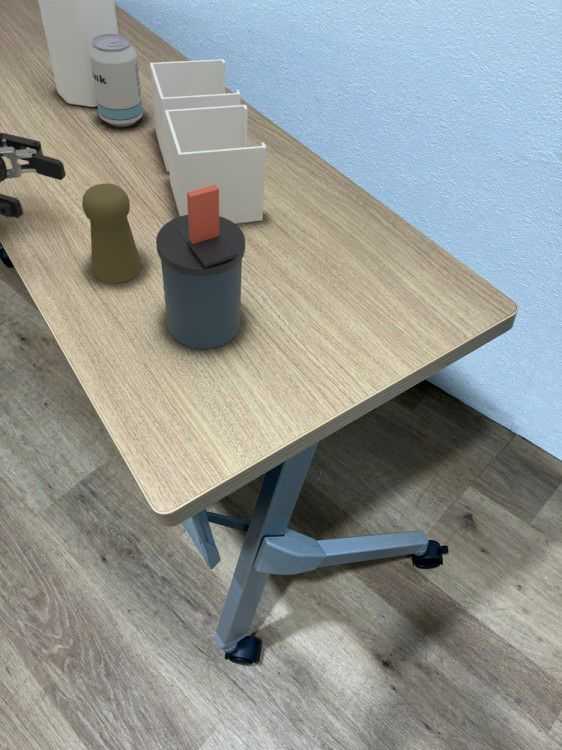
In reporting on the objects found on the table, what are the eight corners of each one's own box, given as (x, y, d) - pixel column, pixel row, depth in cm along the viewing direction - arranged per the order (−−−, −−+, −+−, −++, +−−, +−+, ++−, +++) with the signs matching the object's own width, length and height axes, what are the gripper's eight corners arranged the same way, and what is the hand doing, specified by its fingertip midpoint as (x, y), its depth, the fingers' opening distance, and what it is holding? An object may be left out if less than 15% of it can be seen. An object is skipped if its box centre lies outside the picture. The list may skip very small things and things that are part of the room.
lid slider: (186, 244, 61) (183, 192, 57) (218, 234, 63) (218, 183, 58) (204, 267, 59) (202, 216, 55) (237, 257, 61) (238, 206, 56)
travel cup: (152, 311, 72) (141, 226, 63) (220, 287, 76) (220, 204, 67) (185, 362, 68) (179, 278, 58) (256, 334, 71) (261, 252, 62)
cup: (93, 115, 100) (72, -13, 86) (43, 94, 103) (14, -33, 89) (138, 90, 107) (125, -33, 92) (90, 71, 110) (70, -50, 96)
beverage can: (93, 114, 100) (80, 36, 91) (132, 105, 103) (124, 28, 94) (109, 134, 97) (98, 54, 88) (150, 124, 99) (143, 46, 90)
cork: (89, 255, 78) (73, 178, 69) (137, 249, 79) (127, 173, 71) (95, 287, 74) (78, 210, 66) (145, 279, 76) (135, 203, 67)
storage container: (156, 133, 98) (149, 62, 89) (223, 128, 100) (223, 59, 92) (183, 229, 83) (178, 154, 74) (262, 220, 85) (266, 147, 77)
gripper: (-134, 155, 67) (-6, 193, 64) (-46, 99, 76) (70, 131, 73) (-106, 213, 72) (13, 250, 70) (-27, 155, 81) (81, 186, 79)
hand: (42, 189), depth 71 cm, fingers open, 8 cm apart
